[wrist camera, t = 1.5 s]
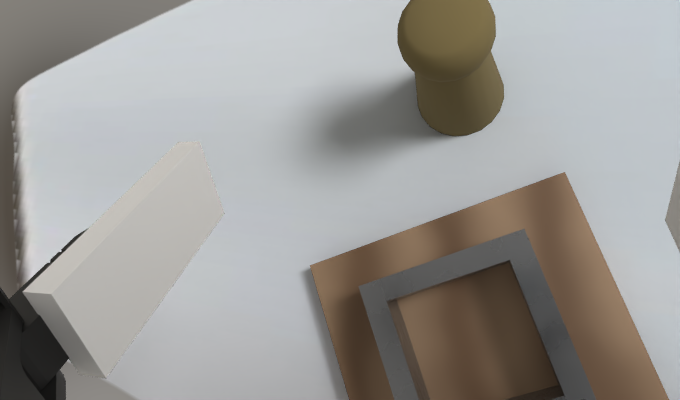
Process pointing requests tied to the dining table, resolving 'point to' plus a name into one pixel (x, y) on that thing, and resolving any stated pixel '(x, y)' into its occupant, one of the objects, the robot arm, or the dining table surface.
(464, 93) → the cork
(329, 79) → the dining table surface
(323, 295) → the socket plate
